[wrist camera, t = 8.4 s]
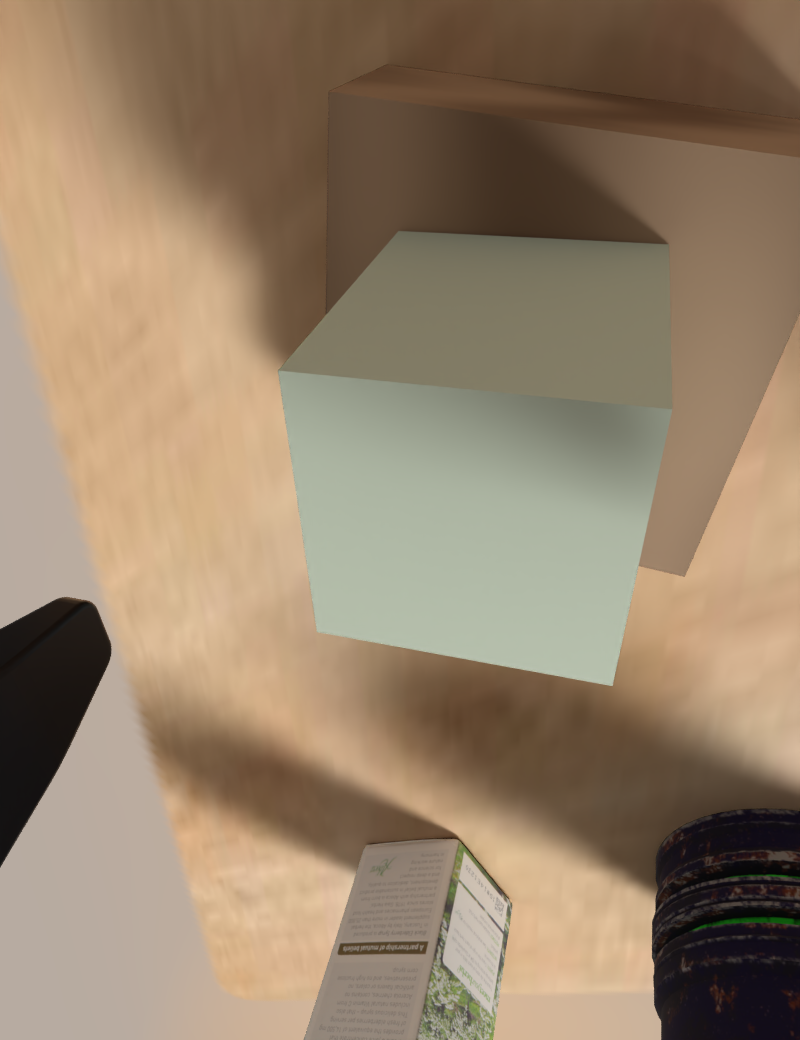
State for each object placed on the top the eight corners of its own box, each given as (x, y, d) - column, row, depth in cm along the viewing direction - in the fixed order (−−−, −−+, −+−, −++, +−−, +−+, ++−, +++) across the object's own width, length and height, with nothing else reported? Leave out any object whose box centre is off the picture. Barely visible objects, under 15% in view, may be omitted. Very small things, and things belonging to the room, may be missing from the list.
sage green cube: (669, 244, 13) (671, 409, 9) (626, 475, 16) (612, 686, 12) (398, 231, 14) (277, 370, 10) (406, 449, 17) (316, 632, 13)
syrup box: (361, 842, 37) (231, 1229, 26) (463, 834, 34) (366, 1268, 23) (419, 905, 39) (323, 1284, 28) (520, 902, 36) (457, 1327, 25)
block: (823, 119, 15) (864, 166, 12) (682, 482, 21) (684, 576, 18) (391, 62, 16) (328, 91, 13) (370, 415, 22) (323, 491, 19)
